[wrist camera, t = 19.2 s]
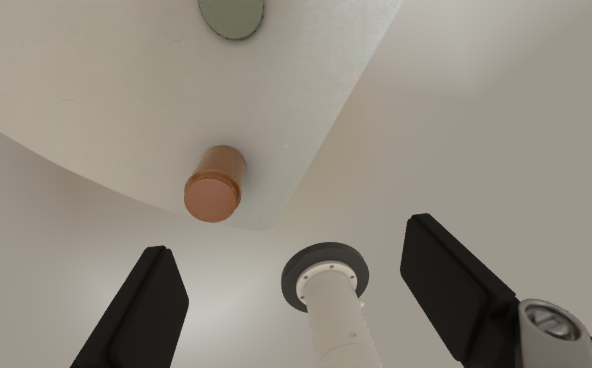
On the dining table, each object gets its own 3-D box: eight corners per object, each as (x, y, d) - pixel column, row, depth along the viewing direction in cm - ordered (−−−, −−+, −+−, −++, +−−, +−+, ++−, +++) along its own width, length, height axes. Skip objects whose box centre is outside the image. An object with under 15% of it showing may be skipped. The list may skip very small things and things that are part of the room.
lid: (187, -6, 29) (183, -10, 27) (236, -50, 27) (235, -56, 26) (229, 53, 31) (228, 52, 30) (275, 15, 30) (276, 13, 29)
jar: (253, 159, 38) (250, 192, 28) (232, 192, 40) (223, 233, 30) (214, 137, 36) (196, 164, 26) (194, 172, 38) (170, 210, 28)
